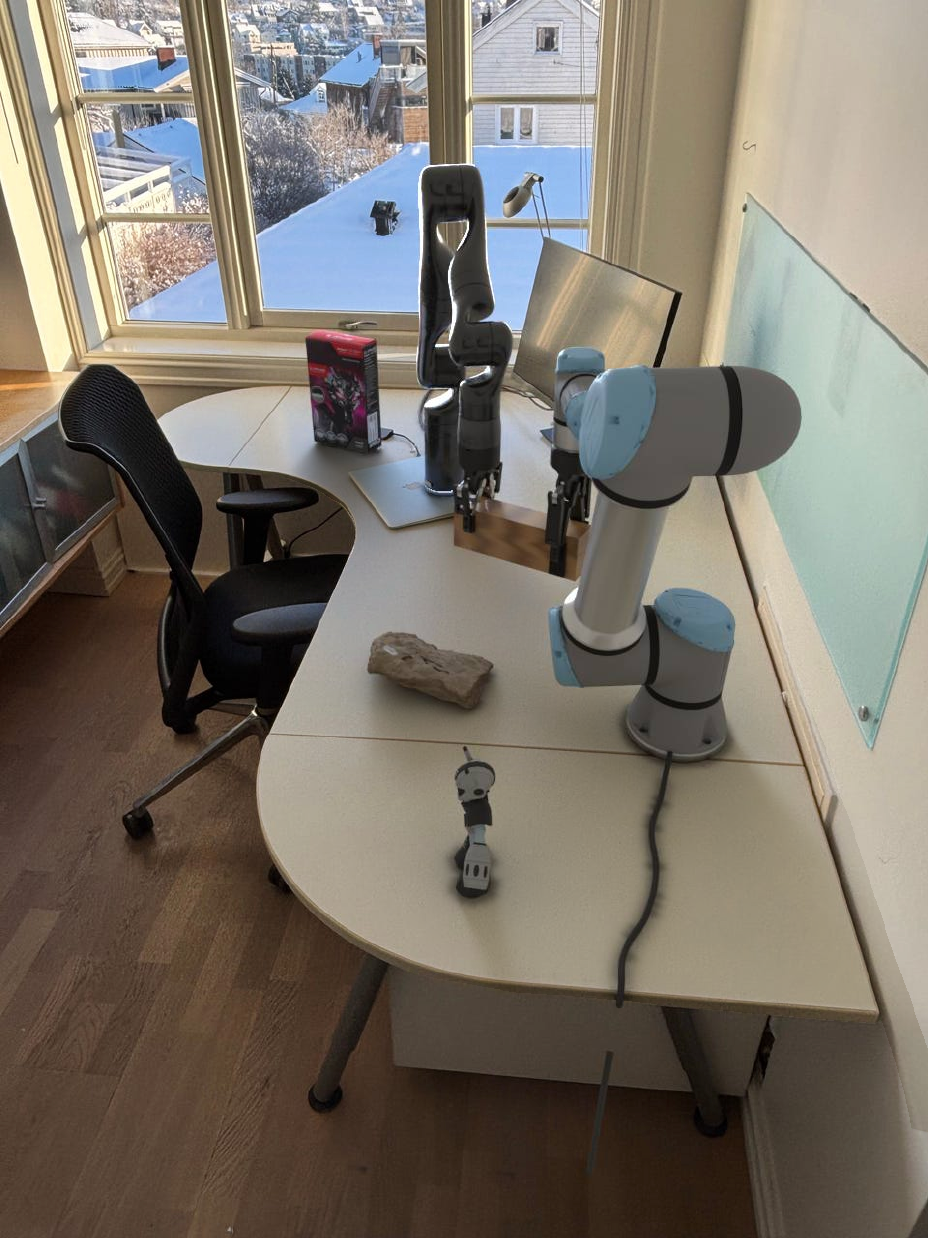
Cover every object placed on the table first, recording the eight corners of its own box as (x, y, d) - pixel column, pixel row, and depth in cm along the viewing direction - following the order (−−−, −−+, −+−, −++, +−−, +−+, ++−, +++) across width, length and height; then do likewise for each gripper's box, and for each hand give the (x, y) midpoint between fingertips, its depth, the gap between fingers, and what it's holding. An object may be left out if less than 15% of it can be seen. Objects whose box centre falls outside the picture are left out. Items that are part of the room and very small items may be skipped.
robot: (497, 935, 111) (502, 818, 100) (457, 937, 111) (458, 819, 100) (486, 816, 127) (489, 703, 116) (451, 817, 127) (451, 704, 116)
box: (588, 567, 165) (592, 525, 160) (575, 581, 160) (578, 539, 156) (469, 533, 175) (469, 492, 170) (453, 545, 171) (453, 504, 166)
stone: (342, 681, 147) (349, 648, 145) (376, 648, 161) (382, 617, 158) (465, 726, 144) (475, 692, 141) (489, 688, 157) (498, 657, 155)
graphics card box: (312, 442, 234) (302, 335, 219) (327, 433, 240) (319, 327, 224) (368, 456, 228) (362, 346, 213) (383, 446, 233) (379, 338, 218)
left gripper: (480, 420, 166) (479, 504, 176) (438, 448, 156) (439, 535, 166) (517, 429, 163) (513, 514, 173) (477, 457, 153) (475, 546, 162)
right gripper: (577, 421, 159) (567, 539, 172) (527, 460, 146) (521, 584, 158) (617, 430, 156) (605, 549, 169) (570, 470, 142) (560, 597, 155)
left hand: (477, 524), depth 169 cm, fingers closed on box, 5 cm apart
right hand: (564, 566), depth 164 cm, fingers open, 6 cm apart
